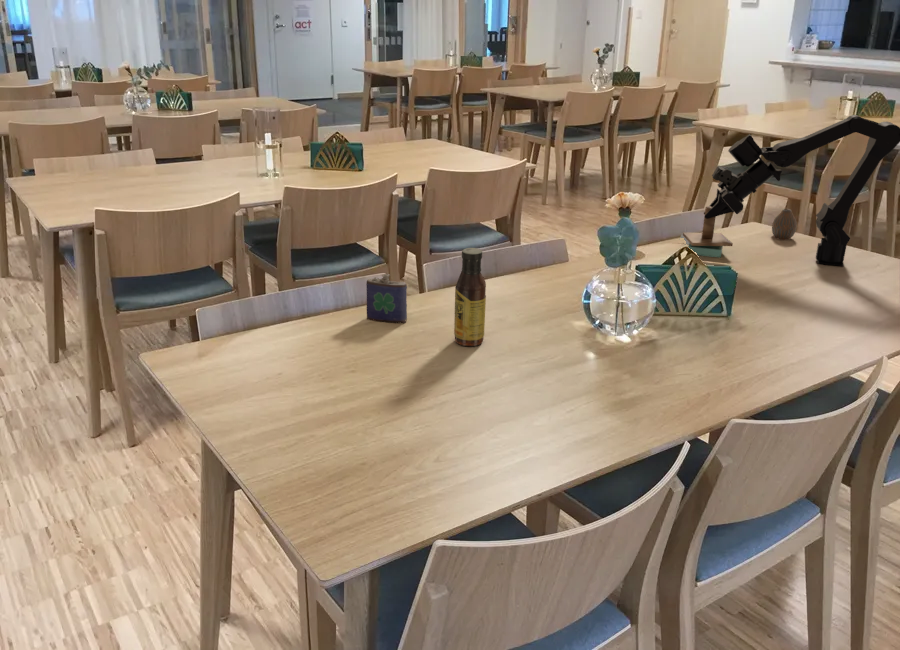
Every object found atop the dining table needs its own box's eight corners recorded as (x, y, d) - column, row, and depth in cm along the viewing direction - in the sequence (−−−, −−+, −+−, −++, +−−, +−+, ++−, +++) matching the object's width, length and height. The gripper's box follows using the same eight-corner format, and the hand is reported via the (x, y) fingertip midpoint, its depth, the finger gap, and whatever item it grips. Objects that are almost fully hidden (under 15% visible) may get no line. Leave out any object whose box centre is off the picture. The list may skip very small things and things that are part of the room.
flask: (408, 320, 178) (408, 274, 174) (404, 325, 175) (403, 278, 171) (369, 315, 180) (367, 270, 176) (364, 320, 177) (362, 274, 173)
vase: (796, 241, 242) (801, 213, 239) (772, 240, 243) (777, 211, 240) (792, 235, 248) (797, 207, 245) (768, 234, 249) (773, 206, 246)
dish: (722, 250, 232) (723, 241, 231) (720, 258, 224) (721, 250, 223) (689, 246, 235) (690, 238, 234) (687, 255, 227) (688, 246, 226)
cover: (720, 235, 233) (725, 203, 230) (732, 246, 223) (737, 212, 219) (682, 235, 233) (686, 202, 230) (692, 245, 223) (696, 212, 220)
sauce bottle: (452, 336, 169) (454, 245, 162) (482, 335, 170) (485, 244, 163) (455, 348, 163) (457, 254, 156) (486, 348, 164) (489, 254, 156)
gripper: (730, 151, 227) (685, 188, 233) (736, 162, 210) (687, 202, 217) (755, 180, 228) (710, 216, 235) (763, 194, 211) (714, 232, 218)
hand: (705, 216), depth 226 cm, fingers closed on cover, 3 cm apart
